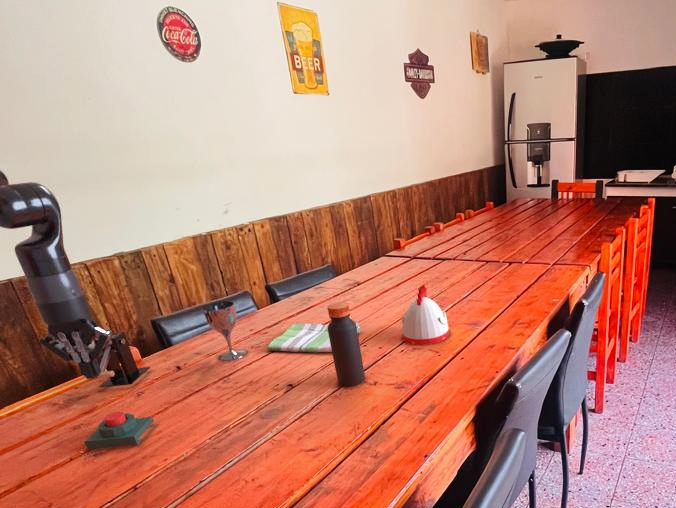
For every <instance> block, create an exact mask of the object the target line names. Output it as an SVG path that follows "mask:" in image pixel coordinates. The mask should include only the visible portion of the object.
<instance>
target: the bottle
mask: <svg viewBox="0 0 676 508" xmlns="http://www.w3.org/2000/svg"><path fill="white" fill-rule="evenodd" d="M327 314H328V316H329V319H330V320H331V321H330V322H329V323H328V324H329V325H328V324H327V325H328V334H329V339H330V344H331V349H332V352H331V354H332V358H333V359H332V360H333V364H334V370H335V375H336V380H337V383H338V384H339V385H341V386H342V387H354V386H357V385H360V384H362V383H363V382H364V381H365V379H366V375H365V367H364V363H363V357H362V351H361V345H360V339H359V333H357V327H356V323H355V321H354V320H353V319H352V318H350V316H351V310H350V305H349V303H347V302H346V301H345V302H343V301H342V302H339V301H338V302H333V303H330V304H329V305H327Z"/></svg>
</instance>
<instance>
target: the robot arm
mask: <svg viewBox="0 0 676 508" xmlns="http://www.w3.org/2000/svg"><path fill="white" fill-rule="evenodd" d="M61 212H62V210H61V206H60V203H59V201H58V199H57V197H56V195H55V194H54V193H53V192H52V191H51V190H50V188H48V187H47V186H45V185H44V184H42V183H39V182H34V181H30V182H29V181H28V182H21V183H20V182H19V183H12V184H10V183H9V179H8V177H7V175H6V174H5V173H4V171H3V170H1V169H0V228H1V229H2V228H3V229H8V230H15V229H16V230H17V229H21V228H27V227H31V234H30V236H29V237H28V238H26V239H24V240H22V241H20V242H19V243H16V245H15V246H14V253H15V256H16V258H17V261H18V263H19V265H20V267H21V270H22V272H23V274H24V276H25V279H26V282H27V286H28V289H29V292H30V294H31V296H32V298H33V301H34V302H35V305H36V308H37V310H38V312H39V314H40V316H41V318H42V322H43V323H44V324H46V325H47V329H46V330H47V334H46V335H45V336H44V337H42V338H41V339H39V343H40V345H42V346H44V347H45V348H46V349H48V350H50V351H51V352H52V353H54V354H55V355H57V356H58V357H59V358H61V359H63V360H64V361H66V362H70V361H73V362H75V364H77V366H78V367H79V369H80V372H81V375H82V376H83V377H85V379H86V380H92V379H98V378H97V377H98V376H99V375H100V373H101V369H100V363H99V362H98V358H99V357H100V358H101V355H102V354H104V353H105V351H106V348H107V346H108V344H109V342H110V340H111V338H112V335H114V332H113V331H112V330H111V329H107V330H105V329H102V328H101V327H99V325H98V323H97V322H96V321H95V320H94V319H93V316H92V315H93V314H92V310H91V307H90V305H89V302H88V299H87V297H86V294H85V292H84V290H83V288H82V285H81V282H80V280H79V278H78V276H77V275H76V273H75V271H74V269H73V267H72V265H71V262H70V259H69V257H68V254H67V252H66V249H65V246H64V245H65V244H64V234H63V233H64V232H63V223H62V213H61ZM95 339H96V340H98V341H97V343H96V344H95V341H94V340H95Z"/></svg>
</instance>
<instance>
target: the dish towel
mask: <svg viewBox="0 0 676 508" xmlns="http://www.w3.org/2000/svg"><path fill="white" fill-rule="evenodd" d="M354 322H355V321H354ZM355 323H356V327H357V333H358V334H360V333H361V332H362V329H361V327H360V322H357V321H356V322H355ZM329 324H330V323H328V324H320V323H292V324H291V325H290V326H289V327H288V328H287V329H286V330H285V331H284V333H282V334H281V335H279V336H277V337H274V339H272V340H271V341H270V342H269V343H268V345H267V346H266V350H268V351H275V352H276V351H277V352H293V353H296V352H301V353H303V352H304V353H332V349H331V344H330V339H329V334H328V325H329Z"/></svg>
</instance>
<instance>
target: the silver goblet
mask: <svg viewBox="0 0 676 508" xmlns="http://www.w3.org/2000/svg"><path fill="white" fill-rule="evenodd" d="M202 312H203V315H204V317H205V318H204V319H205V320H206V322H207V324H208V326H209V327H210V328H211V329H212V330H214V332H216V333H218V334H220V335H222V336H223V337H224V339H225V342H226V343H227V346H228V348H229V351H226V352H224V353H222V354H221V355H219V357H218V359H219V360H221V361H233V360H238V359H240V358H242V357H244V356H245V355H246V353H247V352H246V350H243V349H233V346H232V342H231V334H232V332H233V331H234V328H235V327H236V324H237V320H238V319H237V310H236V306H235V303H234V302H233V301H228V300H227V301H217V302H212V303H209V304H206V305H205V306H203V307H202Z"/></svg>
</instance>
